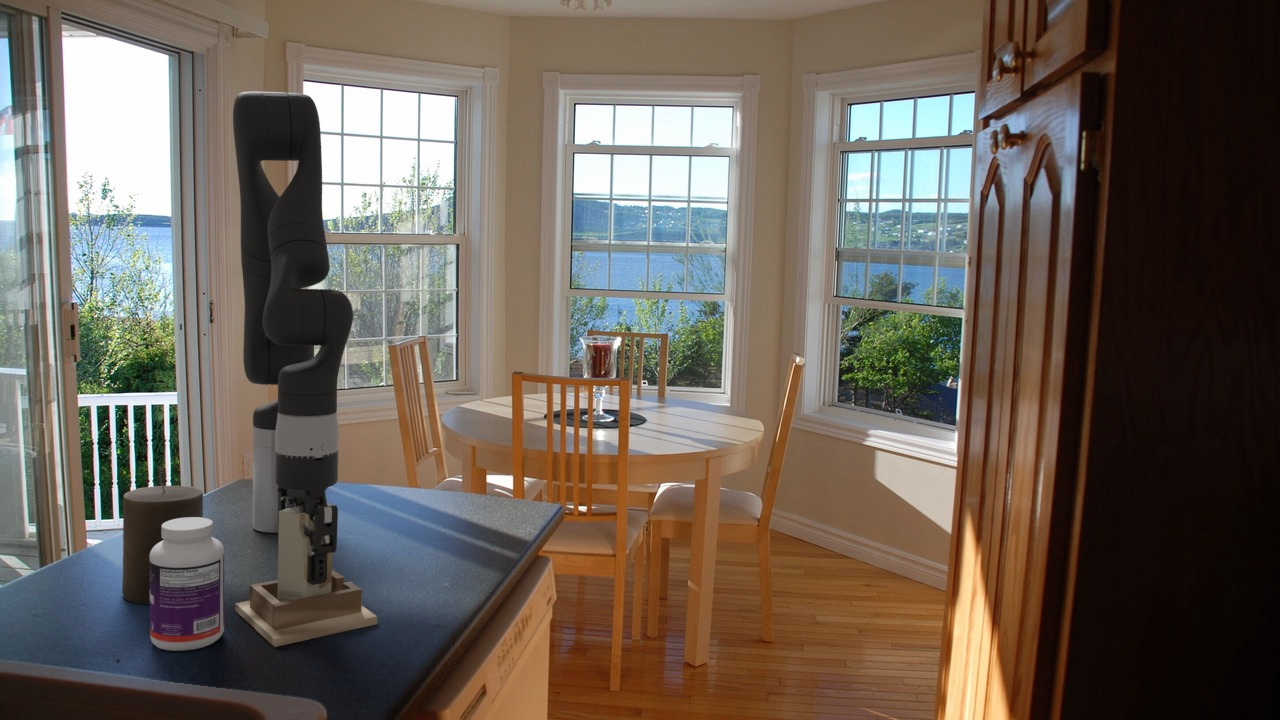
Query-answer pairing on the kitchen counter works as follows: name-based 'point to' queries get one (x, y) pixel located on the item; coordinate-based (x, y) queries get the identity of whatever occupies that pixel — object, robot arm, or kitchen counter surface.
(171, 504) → the pillar candle
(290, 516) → the skincare box
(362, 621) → the frame
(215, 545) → the pill bottle
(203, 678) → the kitchen counter surface
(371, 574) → the kitchen counter surface
